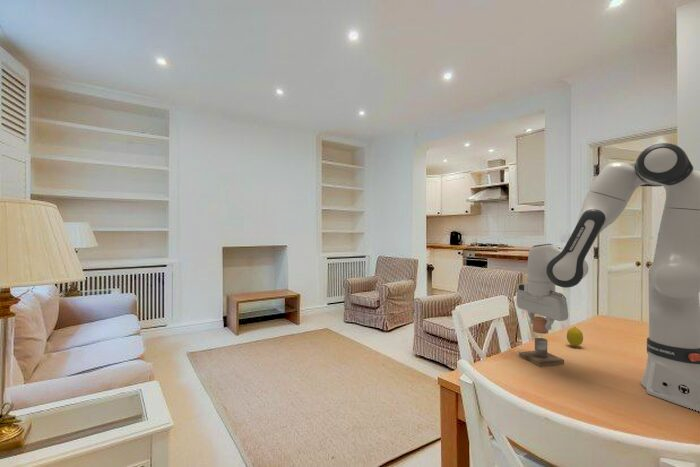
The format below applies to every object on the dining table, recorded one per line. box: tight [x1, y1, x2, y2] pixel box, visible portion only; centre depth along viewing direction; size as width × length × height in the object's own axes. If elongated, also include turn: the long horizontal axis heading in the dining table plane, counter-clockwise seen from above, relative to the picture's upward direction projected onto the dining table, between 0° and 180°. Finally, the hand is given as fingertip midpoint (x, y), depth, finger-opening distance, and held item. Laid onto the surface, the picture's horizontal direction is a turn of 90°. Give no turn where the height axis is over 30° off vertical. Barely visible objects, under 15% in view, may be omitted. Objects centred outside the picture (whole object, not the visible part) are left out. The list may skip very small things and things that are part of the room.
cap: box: [532, 316, 549, 335], centre depth 122 cm, size 5×5×5 cm
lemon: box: [566, 326, 584, 348], centre depth 136 cm, size 6×6×8 cm
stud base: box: [518, 337, 565, 368], centre depth 122 cm, size 10×10×8 cm
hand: (540, 326), depth 122 cm, fingers closed on cap, 5 cm apart
